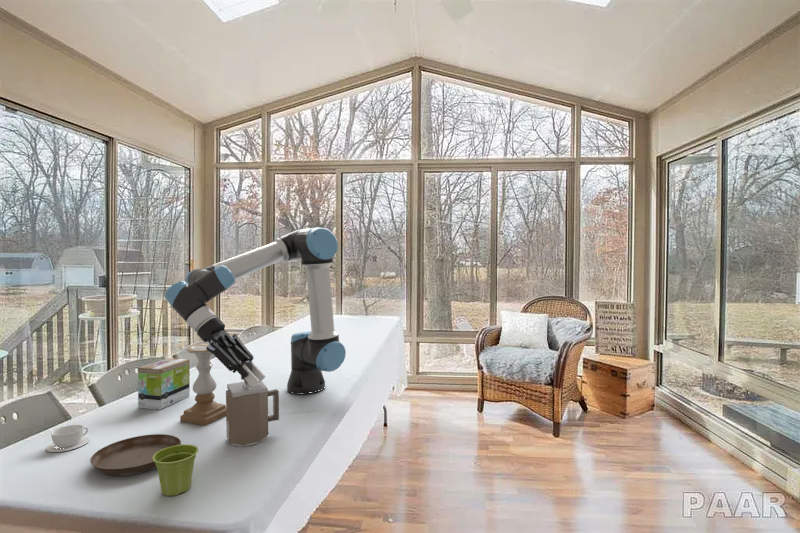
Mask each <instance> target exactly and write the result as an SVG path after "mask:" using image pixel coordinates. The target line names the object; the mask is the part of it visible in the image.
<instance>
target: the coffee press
mask: <svg viewBox="0 0 800 533" xmlns="http://www.w3.org/2000/svg"><path fill="white" fill-rule="evenodd" d="M226 388H227V389H226V390H225V405H226V416H225V419H226V439H227V444H228V445H229V446H232V447H244V446H245V447H251V446H254V444H255V445H258V444H261V443H262V442H263V440H264V441H265V440H266V439H267V438H268V436H269V422H275V421H279V420H280V403H279V402H280V400H279V399H280V397H279V396H280V395H279V394H280V391H279V390H278V389H276V388H275V389H271V390H268V387H267V386H266V384H264V382H263V380H262V381H261V382H260V383H258V382H257V383H256V385H255V386H254V387H251V386H250V387H245V388H244V381H240V382H232V383H227V384H226ZM244 395H245V396H244ZM269 397H272V399H273V400H272V411H273V412H272V414H270V415H269ZM257 443H258V444H257Z"/></svg>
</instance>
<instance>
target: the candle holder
mask: <svg viewBox="0 0 800 533" xmlns="http://www.w3.org/2000/svg"><path fill="white" fill-rule="evenodd" d="M208 345H209V343H204V344H196V345H192V346H188V348H187V349H186V351H187V353H189V354H194V355H195V356H196V358H197V360H198V362H197V364H196V365H195V369H197V372H198V375H197V378H196V379H195V381H194V382H193V384H192V391H193V393H195V394H196V395H195V397H194V401H195V404H192V406H191V407H189V408H187V409H185V410H184V411H183V414H182V415H180V416H179V419H180V420H179V421H180V423H181V422H182V423H186V424H192V425H193V424H194V425H198V426H199V425H200V426H208V425H211V424H212V423H215V422H216V421H218V420H221V419H222V418H224V417H226V404H223V403H218V402H217V401H215V400H214V399H215V397H216V395H215V393H214V391H215V390H216V389H217V382H216V380H215V379H214V377H213V376H212V374H211V370H212V367H213V365H214V364H213V363H212V362H211V357H212V355H213V354H212V353H211V352H210V351H208V350H207V349H206V347H207V346H208Z"/></svg>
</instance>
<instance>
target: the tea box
mask: <svg viewBox="0 0 800 533" xmlns="http://www.w3.org/2000/svg"><path fill="white" fill-rule="evenodd" d="M190 363H191V362H190V359H188V358H187V359H185V358H174V357H173V358H171V357H168V358H164V359H161V360H158V361H155V362H152V363H149V364H146V365H145V364H144V365H142V366H139V367H138V368H137V370H138V372H137V373H138V374H137V375H138V377H137V381H138V382H137V383H138V384H137V386H138V387H137V393H138V394H137V398H138V399H137V407H138V408H141V409H149V410H150V409H151V410H161V411H162V410H163V409H164V408H167V407H169V406H171V405H172V404H173V405H174V404H175V403H177V402H180V401H182V400H184V399H186V398H189V397H190V391H191V390H190V384H191V383H190V380H191V379H190V374H191V372H190V368H191V367H190V366H191V364H190Z"/></svg>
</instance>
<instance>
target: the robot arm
mask: <svg viewBox="0 0 800 533" xmlns="http://www.w3.org/2000/svg"><path fill="white" fill-rule="evenodd" d="M338 247H339V246H338V239H337V237H336V235H335V234H334V233H333V232H332V231H331V230H330V229H328V228H326V227H319V226H317V227H307V228H298V229H297V230H294V231H292V232H289V233H286V234H284V235H283V236H282V235H281V236H280V237H277V238H275V239H274V240H273V242H271V243H268V244H266V245H262V246H261V247H258V248H254V249H252V250H249V251H246V252H244V253H242V254H238V255H236V256H233V257H231V258H227V259H225V260H223V261H219V262H216V263H214V264H213V263H212V264H211V265H209V266H206V267H203V268H200V269H199V268H198V269H192V270H191V271H189V272H188V273H187V274H186V276H185V280H180V281H178V282H175V283H173V284H172V285H171V286H169V287H168V288H167V289H166V291H165V293H164V299H165V300H166V301H167V302H168V304H169V305H170V306H171V308H172V309H173V310H174V311H176V313H177V314H178V315H179V316H180V317H181V318H182V319H183V320H184V322H186V323H187V324H188V326H189V327H190V328H191V329H192V330H193V331H194V332H195V333H196V334H197V336H198V337H199V339H201V340H202V342H203V343H208V344H209V345H208V346H207V347H206V349H207V350H208V351H210V352H211V353H212V355H213V356H214V357H215V358H216V359H217V360H218V361H219V362H220V363H221V364H222V365H224V367H225V368H226V369H227V370H228V371H230V372H232V373H233V374H235V373H238V374H239V375H240V377H241V376H242V377H243V378H244V379H245V380H246V381H247V382H248V383H249V385H250V386H251V387H254V386H255V385H256V383H257V382H258V383H260V382H261V381H262V382H263V380H264V379H265V378H266V375H265V374H264V373H263V372H262V371H261V369H259V368H258V366H257V365H256V364H255V363H254V362H253V360H254V359H255V358H254V355H253V354H252V353H251V352H250V351H249V349H248V348H247V347H246V346H245V344H243V342H242V341H241V340H240V338H239V336H238V334H237V333H234V334H233V335H230V333H229V332H227V331H226V330H225V328H226V324H225V323H224V322H223V321H222V320H221V319H220V317H219V316H218V317H217V314H216V313H215V312H214V311H213V310H212V309H211V308H210V307H209V306H208V303H209V302H210V301H212V300H213V299H215V298H216V297H218V296H219V295H220V294H222V293H223V292H225V291H226V290H229V289H230V288H231V287H232V286H234V285H235V283H236V280H238V279H239V278H242V277H244V276H247V275H249V274H251V273H254V272H257V271H260V270H261V269H264V268H266V267H269V266H272V265H274V264H277V263H279V262H283V263H287V262H289V261H292V260H298V259H299V260H301V266H302V267H303V268H305V270H306V280H307V291H308V292H307V293H308V294H307V295H308V304H309V317H310V330H311V331H303V332H302V331H301V332H296V333H293V334H292V335H291V337H290V338H291V339H290V351H291V352H290V355H291V356H290V361H291V362H290V363H291V366H290V367H291V368H290V369H291V371H290V375H289V378H288V379H287V380H288V381H287V384H286V390H288V391H290V392H293V393H292V394H294V393H309V392H315V391H318V390H321V389H323V388H324V387H325V388H326V380H325V378H324V375H323V372H329V373H331V372H334V371H336V370H338V369H339V368H340V367H341V366H342V364H343V363H344V361H345V358H346V347H345V345H343V343H341V342H340V337H339V336H340V335H339V332H338V331H337V330H336V329H335V324H334V323H335V322H334V310H333V309H334V308H333V299H332V297H333V295H332V294H333V293H332V285H331V269H330V267H331V266H332V265H333V264H334V256H336V253H338V249H339V248H338ZM245 360H251V361H252V372H251V371H250V370H249V369H248V367H247V366H246V365H245V364H244V365H243V366H242V363H241V361H245ZM323 390H324V389H323ZM288 391H287V392H288ZM290 392H289V393H290Z"/></svg>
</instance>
